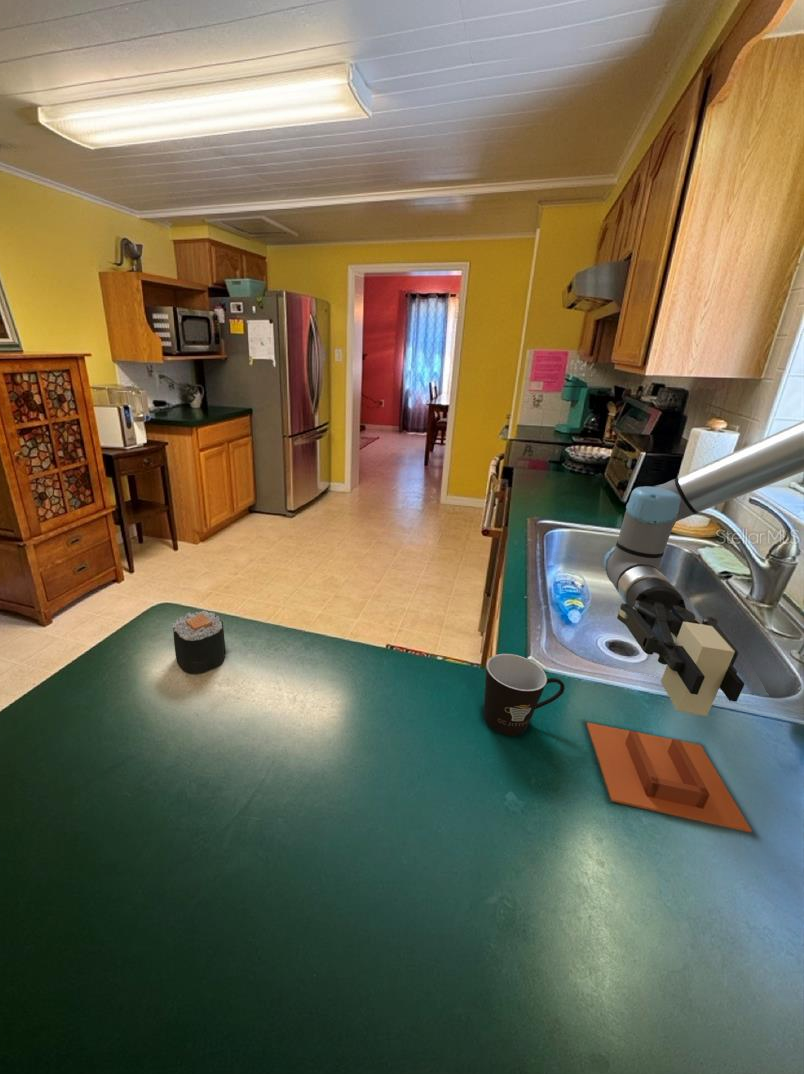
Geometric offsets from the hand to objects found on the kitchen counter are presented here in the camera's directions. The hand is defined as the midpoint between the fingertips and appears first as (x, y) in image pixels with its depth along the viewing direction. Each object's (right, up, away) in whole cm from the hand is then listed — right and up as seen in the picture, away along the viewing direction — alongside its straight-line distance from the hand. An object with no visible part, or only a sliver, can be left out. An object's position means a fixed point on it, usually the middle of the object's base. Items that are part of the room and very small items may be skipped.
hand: (717, 688), depth 56 cm
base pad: (-1, -15, +9) cm, 18 cm away
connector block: (+1, -4, +7) cm, 8 cm away
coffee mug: (-19, -12, +17) cm, 28 cm away
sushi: (-71, -4, +28) cm, 76 cm away
